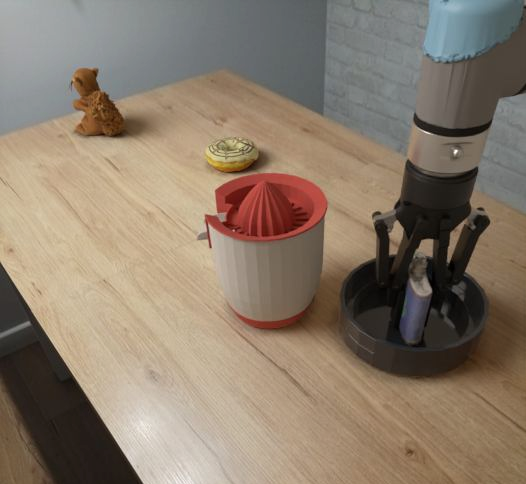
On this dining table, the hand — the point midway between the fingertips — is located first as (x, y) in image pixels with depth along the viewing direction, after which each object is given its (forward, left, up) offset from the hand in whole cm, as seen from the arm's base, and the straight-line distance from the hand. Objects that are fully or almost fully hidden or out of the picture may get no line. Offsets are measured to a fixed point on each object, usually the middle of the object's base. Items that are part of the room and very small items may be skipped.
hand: (407, 320), depth 72 cm
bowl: (0, 0, -1) cm, 1 cm away
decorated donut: (+27, -50, -1) cm, 57 cm away
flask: (0, 0, 0) cm, 0 cm away
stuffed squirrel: (+58, -68, -1) cm, 89 cm away
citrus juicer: (+20, -6, -1) cm, 21 cm away
